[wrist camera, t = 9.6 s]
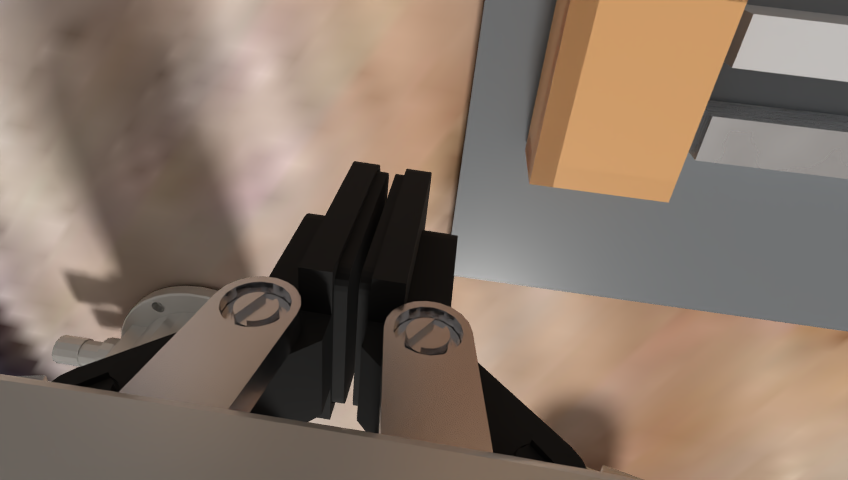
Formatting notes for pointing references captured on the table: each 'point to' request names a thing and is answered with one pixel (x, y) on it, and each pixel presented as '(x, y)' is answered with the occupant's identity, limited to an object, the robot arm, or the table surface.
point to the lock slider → (626, 92)
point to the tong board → (692, 196)
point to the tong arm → (772, 139)
